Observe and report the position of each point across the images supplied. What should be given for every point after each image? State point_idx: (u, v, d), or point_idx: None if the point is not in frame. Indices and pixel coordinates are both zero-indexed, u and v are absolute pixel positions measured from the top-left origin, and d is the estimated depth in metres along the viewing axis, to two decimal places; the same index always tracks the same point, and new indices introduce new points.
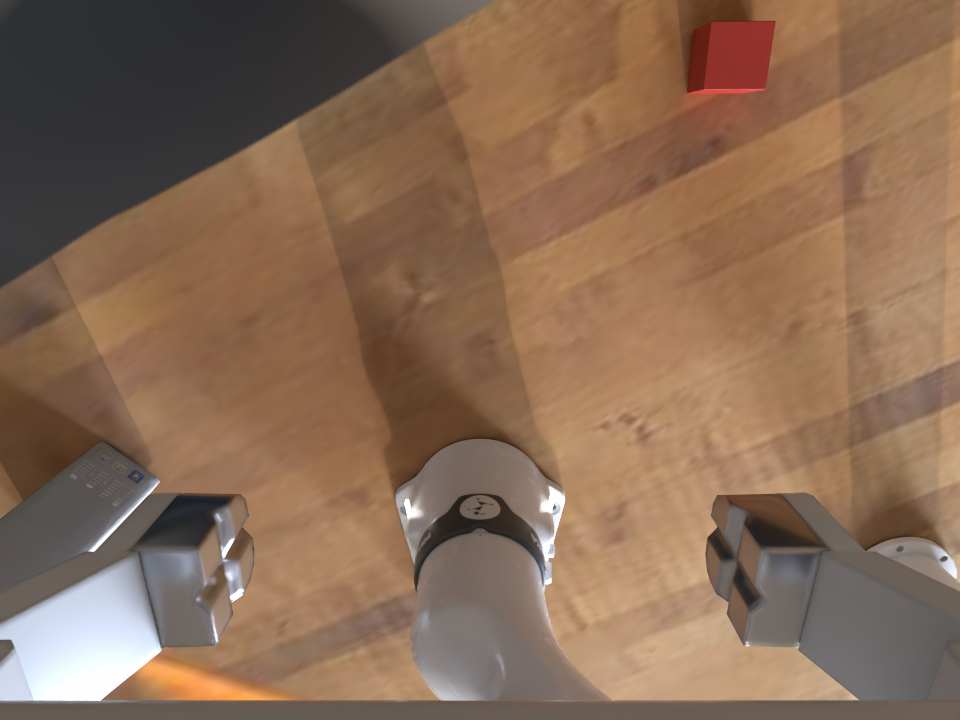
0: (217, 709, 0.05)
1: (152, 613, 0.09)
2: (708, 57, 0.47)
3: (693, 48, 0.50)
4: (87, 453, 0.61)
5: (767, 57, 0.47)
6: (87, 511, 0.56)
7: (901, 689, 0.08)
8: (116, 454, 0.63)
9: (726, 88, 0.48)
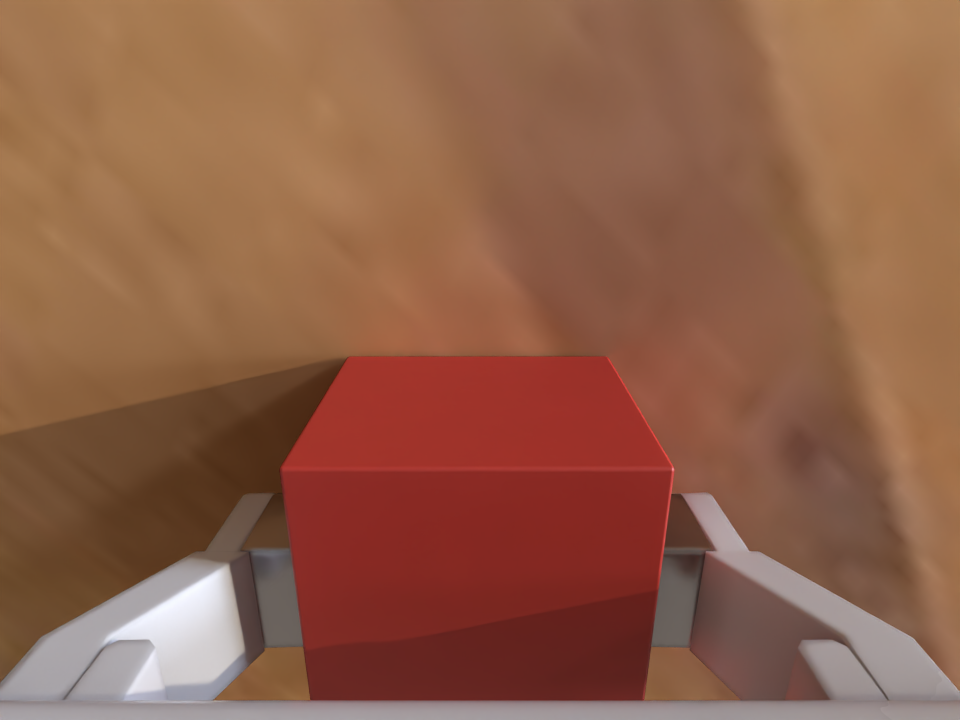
0: (218, 709, 0.05)
1: (259, 613, 0.09)
2: None
3: None
4: None
5: (484, 484, 0.07)
6: None
7: (774, 689, 0.08)
8: None
9: (643, 665, 0.08)
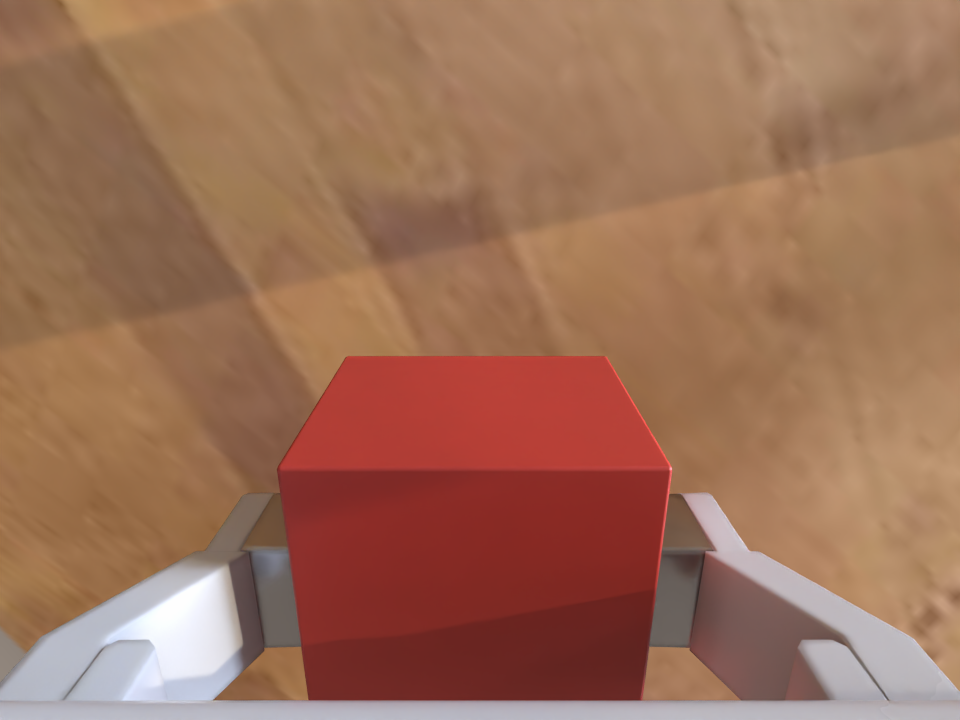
0: (218, 708, 0.05)
1: (259, 613, 0.09)
2: None
3: None
4: None
5: (482, 482, 0.07)
6: None
7: (774, 689, 0.08)
8: None
9: (642, 664, 0.08)
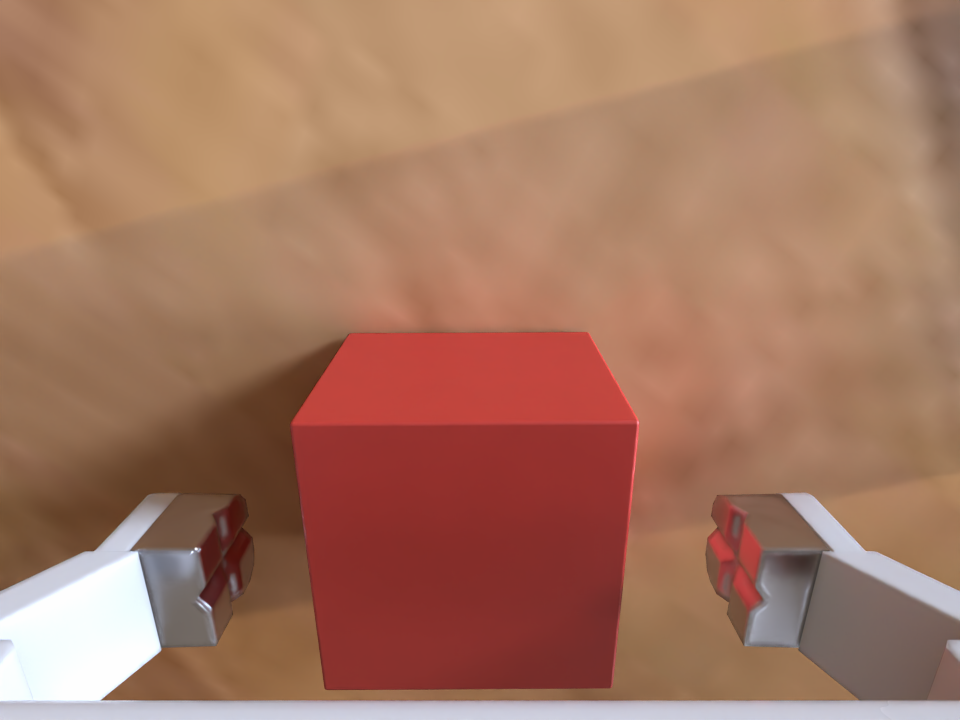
0: (218, 709, 0.05)
1: (152, 613, 0.09)
2: (472, 684, 0.10)
3: None
4: None
5: (471, 435, 0.08)
6: None
7: (901, 689, 0.08)
8: None
9: (616, 602, 0.09)
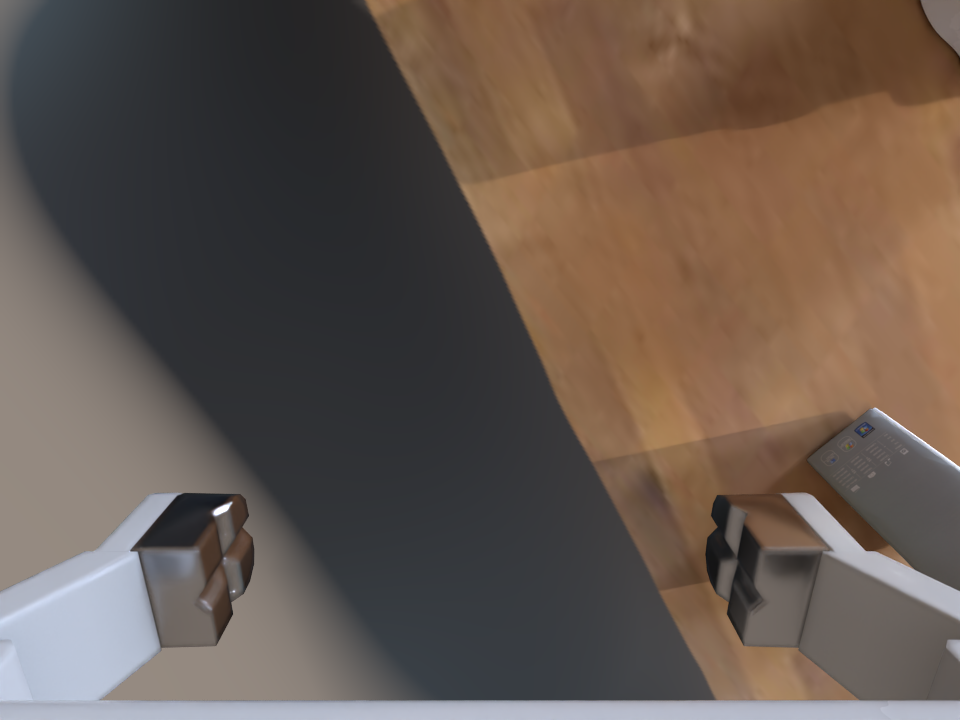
0: (217, 708, 0.05)
1: (152, 613, 0.09)
2: None
3: None
4: (823, 473, 0.52)
5: None
6: (911, 479, 0.45)
7: (901, 689, 0.08)
8: (828, 446, 0.53)
9: None
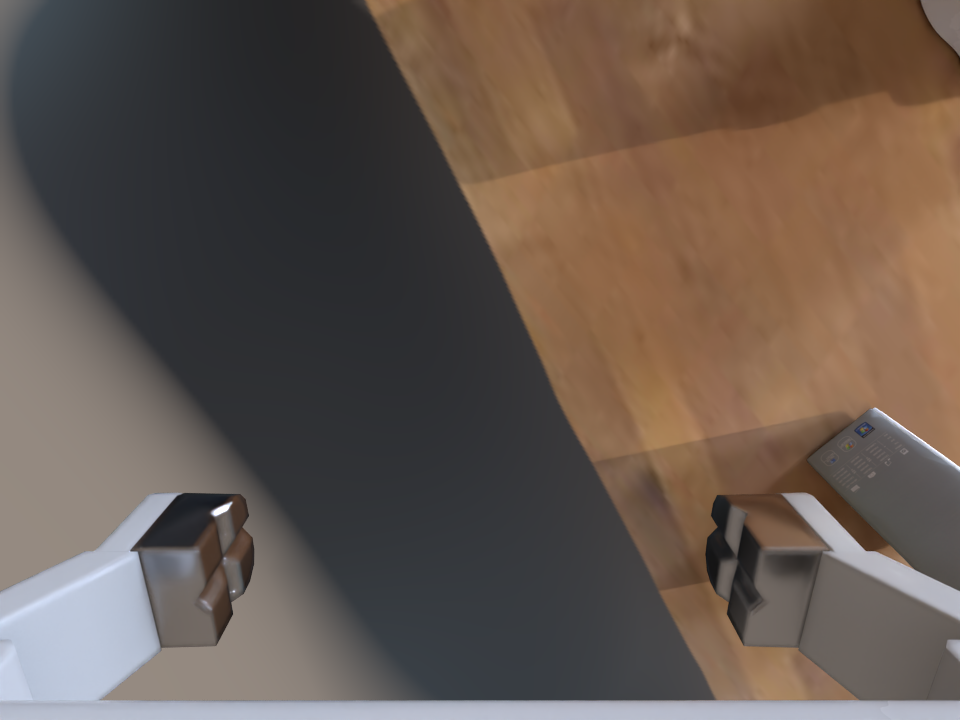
0: (217, 708, 0.05)
1: (152, 613, 0.09)
2: None
3: None
4: (823, 473, 0.52)
5: None
6: (911, 479, 0.45)
7: (901, 689, 0.08)
8: (828, 446, 0.53)
9: None
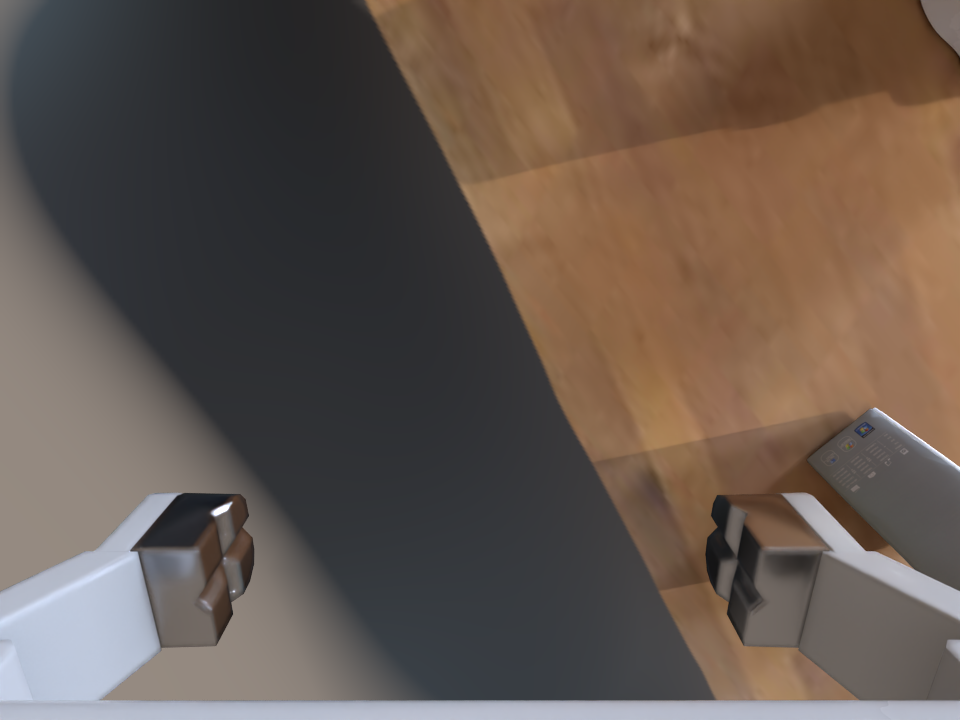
0: (217, 708, 0.05)
1: (152, 613, 0.09)
2: None
3: None
4: (823, 473, 0.52)
5: None
6: (911, 479, 0.45)
7: (901, 689, 0.08)
8: (828, 446, 0.53)
9: None
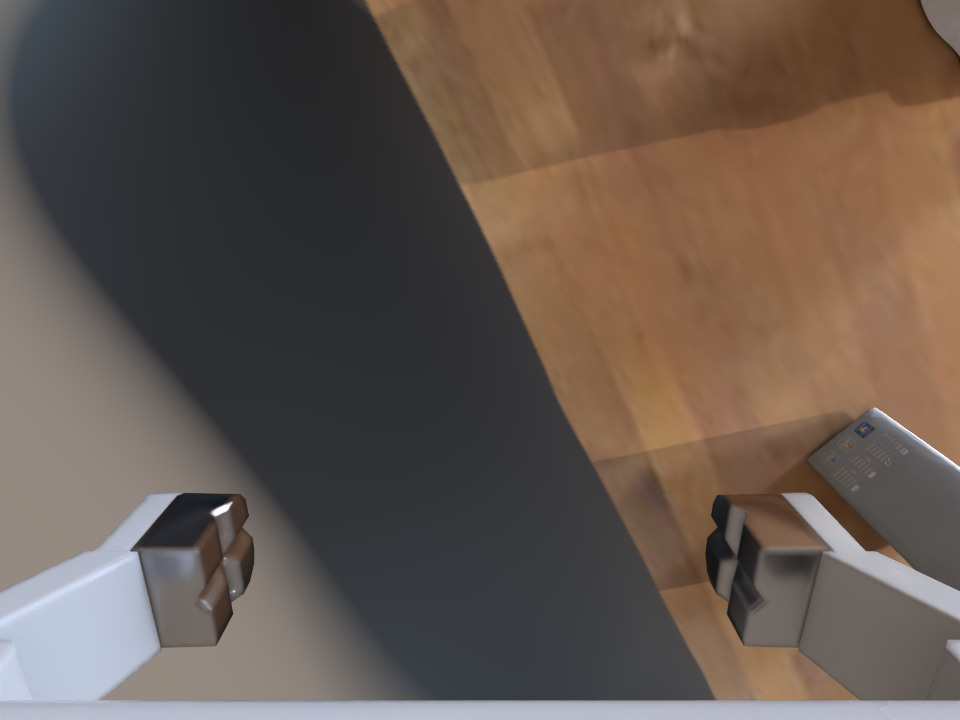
0: (217, 708, 0.05)
1: (152, 613, 0.09)
2: None
3: None
4: (823, 473, 0.52)
5: None
6: (911, 479, 0.45)
7: (901, 689, 0.08)
8: (828, 446, 0.53)
9: None
